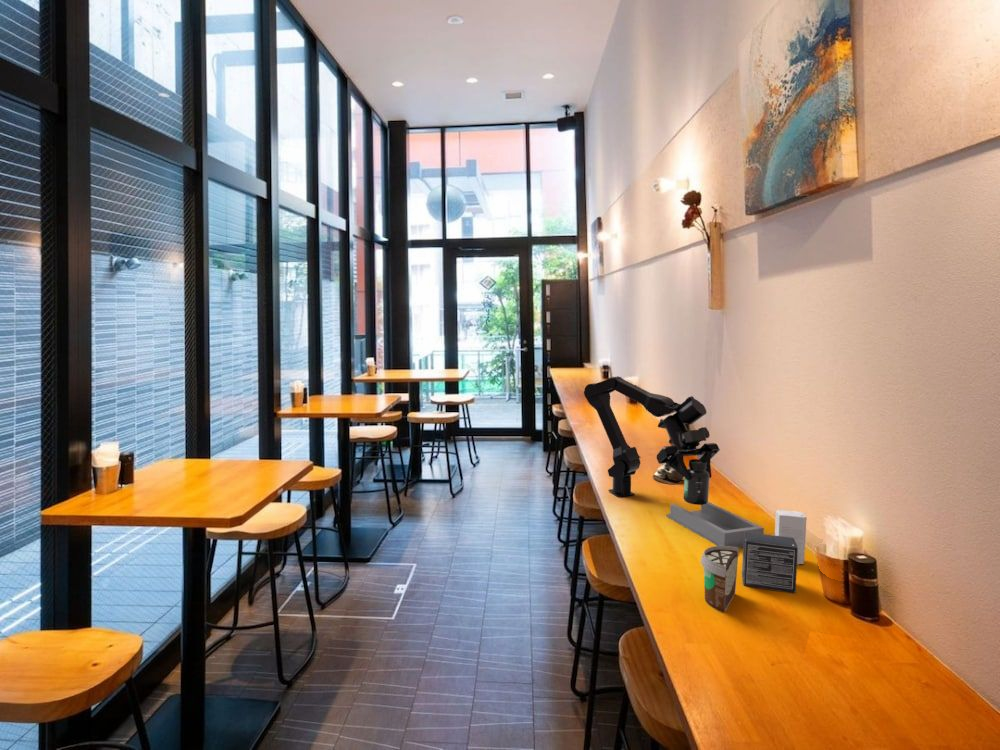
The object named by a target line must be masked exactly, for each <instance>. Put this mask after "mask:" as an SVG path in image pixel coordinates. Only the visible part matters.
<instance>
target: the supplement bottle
mask: <svg viewBox="0 0 1000 750" xmlns="http://www.w3.org/2000/svg"><path fill="white" fill-rule="evenodd" d="M706 464H707V462H706V461H704V460H699V458H693V459H692V458H691V459H689V460H688V468H687V470H688V472H689V474H690V477H691V479H690V480H687V479H686V478H685V477H683V478H684V480H683V500H684V502H686V503H688V504H691V505H697V506H701V505H704V504H706V503H707V502H709V496H710V495H709V492H710V479H711V478H710V475H709V472H708V471H707V470H706V468H707V466H706Z"/></svg>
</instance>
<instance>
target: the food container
mask: <svg viewBox="0 0 1000 750" xmlns="http://www.w3.org/2000/svg"><path fill="white" fill-rule="evenodd" d="M739 549H740V547H739V548H737V547H731V546H717V545H715V546H710V547H708V548H706V549H705V550H704V551H703V553H702V556H701V558H700V564H701V566H702V567H703V574H704V575H703V577H704V578H703V579H704V581H703V583H704V600H705V602H706V604H707V605H708V606H710V608H713V609H715V610H716V611H719V612H722V613H725V612H726V611H727V609H728V607H729V605H730V604H731V602H732V601H733V598H734V596H735V594H736V587H737V576H738V563H739V556H740V555H739V553H740V551H739Z"/></svg>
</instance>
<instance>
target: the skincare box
mask: <svg viewBox="0 0 1000 750" xmlns="http://www.w3.org/2000/svg"><path fill="white" fill-rule="evenodd" d="M774 520H775V522H774V524H775V525H774V536H783V537H791V538H794V540H795V542H796V544H797V546H798V555H797V565H799V564H805V550H806V538H807V537H806V535H807V534H806V533H807V516H806V515H805V514H804V513H803V512H802V511H793V510H782V509H780V510H779V509H776V510H775V519H774Z"/></svg>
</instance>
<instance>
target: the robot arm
mask: <svg viewBox="0 0 1000 750" xmlns="http://www.w3.org/2000/svg"><path fill="white" fill-rule="evenodd" d="M615 391H616V392H618V393H620V394H621V395H623V396H625V397H627V398H629V399H631V400H633V401H634V402H637V403H639V404H640V405H641V406H643V408H644V409H645V410H646V412H648V413H649V414H650V415H652V416H654V417H655V418H656V417H657V418H660V420H659V422H658V425H657V427H658V428H659V429H665V430H666V432H667V434H668V436H669V440H668V443H669V444H670V445H667V446H666V445H665V446H663V447H662V448H661V449H660V450H659V452H658V453H657V454H656V460H657V462H658V464H660V465H661V464H663V463H666V465H667V466H668V465H669V466H670V467H672V468H673V469H675V470H676V471H677V472H679V473H680V474H681V475H682V476H683V478H686V479H687V480H690V479H691V477H690V474H689V472H688V470H687V469H688V468H687V466H686V463H685V461H684V460H685V459H684V457H691V456H696V457H697V459H699V460H704V461H706V462H707V464H706V466H707V468H706V470H707V471H708V472H709V475H710V478H709V479H711V478H712V467H711V459H712V458H714V457H715V456H716V455H717V454H718V453H719V451H721V449H720V447H719V446H718V444H717V443H715V442H709V443H708V442H707V443H704V444H703V445H702V446H701V447H699V446H700V443H701V442H703V441H704V442H705V441H707V439H709V438H710V432H709V430H708V428H707V427H704V426H703V427H700V428H698V429H692V430H691V429H688V428H687V425H689V426H692V425H693V424H694V423H696V422H697V421H699V420H700V419H702V417H704V416H705V415H706V414H707V409H706V407H705V405H704V404H703V403H701V401H699V400H698V399H696V398H695V397H694V396H692V395H691V396H688V397H687V398H686V399H685V400H684V401H683V402H682V403H678V402H675V401H674V400H673V398H671V397H669V396H665V395H663V394H658V393H652V392H650V391H647V390H646V389H643V388H642V387H639V386H637V385H636V384H633V383H632V382H629V381H628V380H626V379H623V378H622V377H621V376H618V375H617V376H611V377H609V378H607V379H603V380H601V381H599V382H593V383H588V384H587V385H586V386H585V387H584V391H583V395H584V397H585V399H586V401H587V403H588V404H589V405H590V406H591V407H592V408H593V409H594V410H596V413H597V414H598V417H599V420H600V422H601V424H602V426H603V429H604V431H605V433H606V435H607V438H608V440H609V443H610V445H611V447H612V451H613V452H612V461H613V464H612V466H611V467H609V468H608V469H607V475H608V477H610V478H612V489H608V492H609V493H611V494H612V495H614V496H616V497H618V498H619V497H625V496H626V497H629V495H630V496H634V495H635V492H633V491H632V475H635V474H636V472H637V470H638V469H639V468H640V466H641V460H640V459H641V456H640V455H639V453H638V450H637V448H636V446H633V447H631V446H630V445H629V444H628V443H627V440H626V438H625V436H624V434H623V431H622V429H621V427H620V425H619V422H618V421H617V418H616V416H615V414H614V411H613V409H612V407H611V393H613V392H615ZM664 416H667V417H665V418H663V419H662V418H661V417H664ZM697 447H699V448H697Z"/></svg>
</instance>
